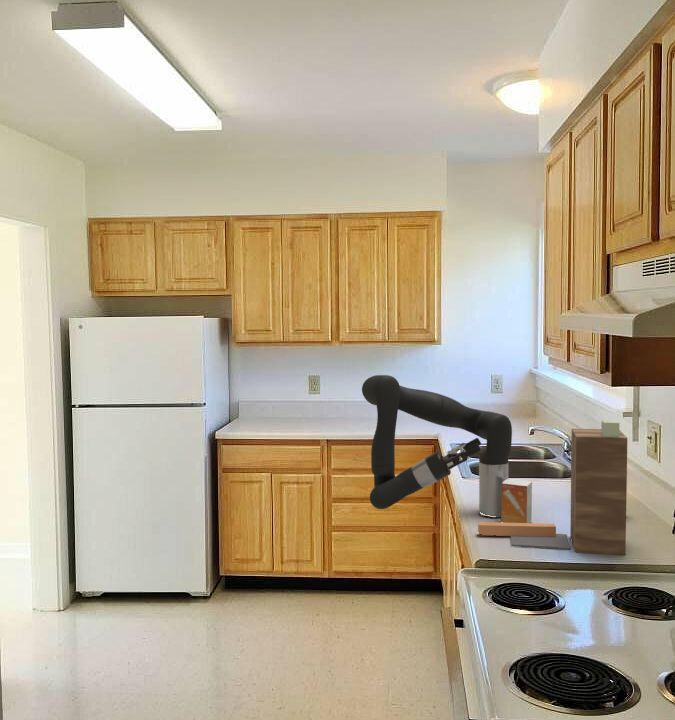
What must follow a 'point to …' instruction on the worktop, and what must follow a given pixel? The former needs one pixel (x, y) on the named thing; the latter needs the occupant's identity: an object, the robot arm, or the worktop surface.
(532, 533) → the brown block
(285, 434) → the worktop surface
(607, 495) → the stand
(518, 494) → the small box
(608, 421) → the sage block
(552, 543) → the mat
